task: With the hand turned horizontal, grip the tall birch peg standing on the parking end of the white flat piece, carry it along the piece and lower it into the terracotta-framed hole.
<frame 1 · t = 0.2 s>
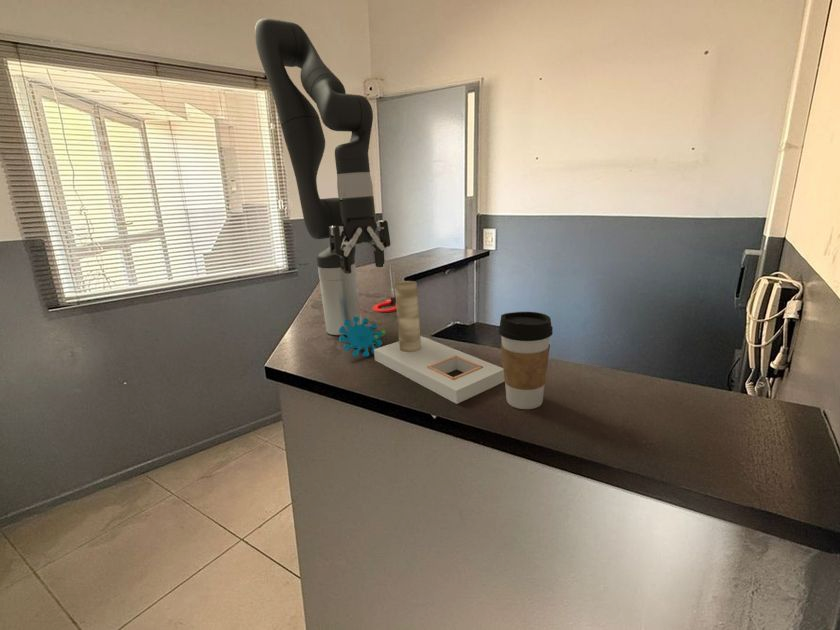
hand: (363, 270, 98), 18 cm above the counter, tool pointing down, fingers open, 8 cm apart
gear: (364, 352, 99), on the counter
coffee cup: (524, 401, 74), on the counter
tow hook: (388, 309, 131), on the counter
peg: (410, 347, 92), point 2 cm above the counter, touching white flat piece
white flat piece: (435, 370, 87), on the counter
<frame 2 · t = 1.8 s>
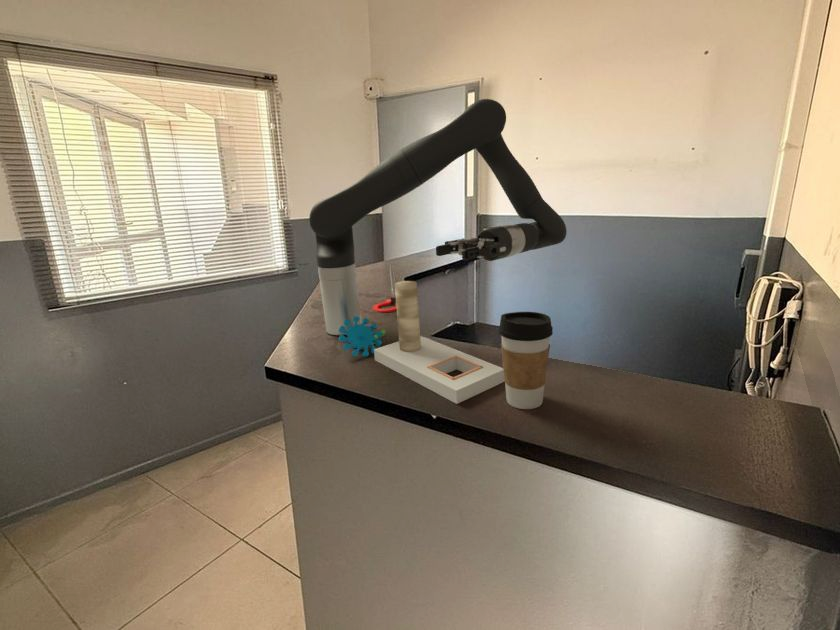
hand: (449, 253, 94), 21 cm above the counter, tool horizontal, fingers open, 8 cm apart
nothing on the counter moved.
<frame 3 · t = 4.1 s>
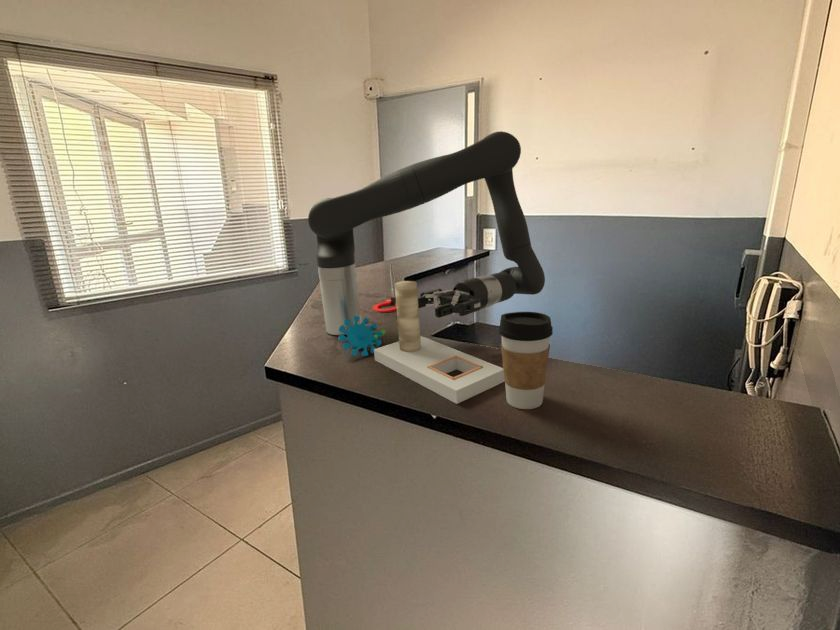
hand: (423, 308, 93), 10 cm above the counter, tool horizontal, fingers open, 8 cm apart
nothing on the counter moved.
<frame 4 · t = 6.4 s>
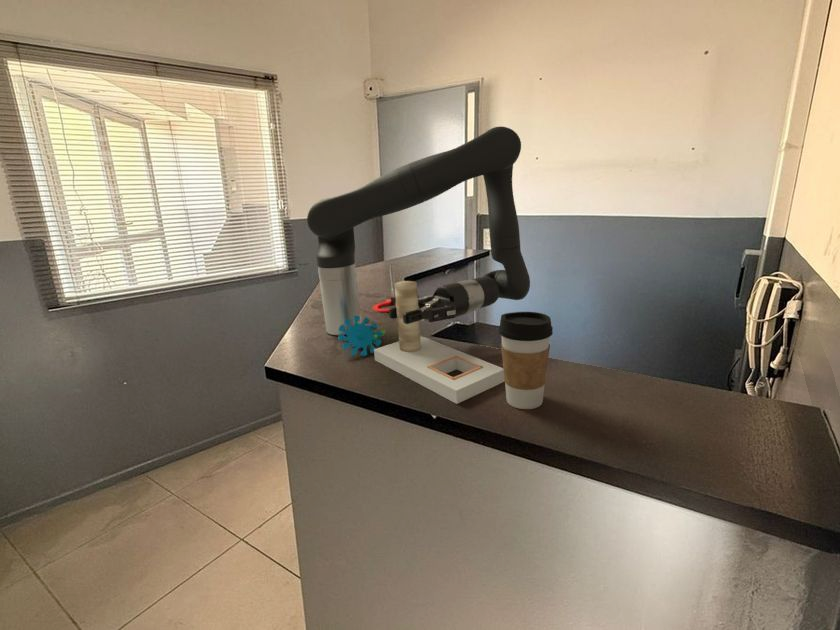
hand: (397, 316, 89), 10 cm above the counter, tool horizontal, fingers closed on peg, 4 cm apart
peg: (410, 347, 92), point 3 cm above the counter, touching gripper, white flat piece
everything else where it was.
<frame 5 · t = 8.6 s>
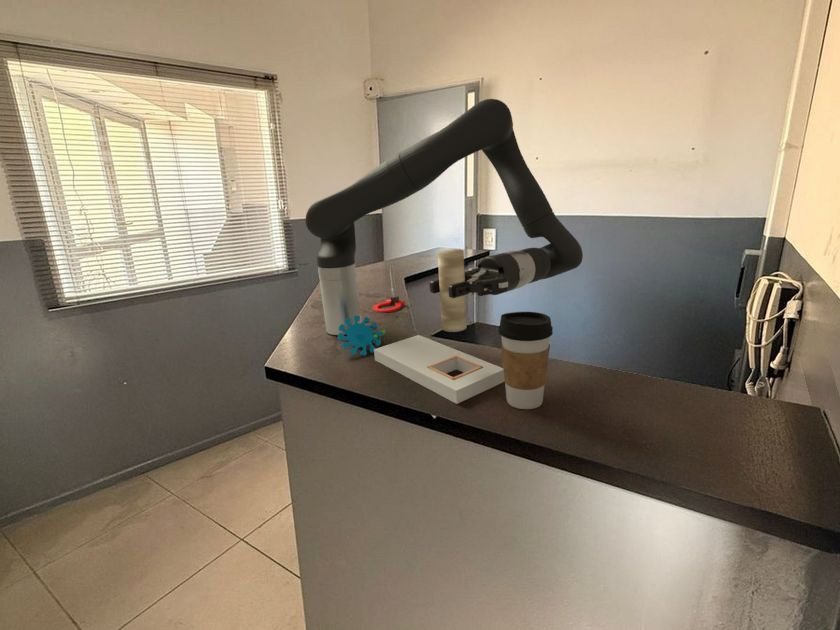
hand: (440, 289, 76), 18 cm above the counter, tool horizontal, fingers closed on peg, 4 cm apart
peg: (454, 327, 80), point 10 cm above the counter, touching gripper
everything else where it was.
when the fingers open (9 cm above the counter, at t = 11.1 s): peg drops 1 cm, resting in white flat piece.
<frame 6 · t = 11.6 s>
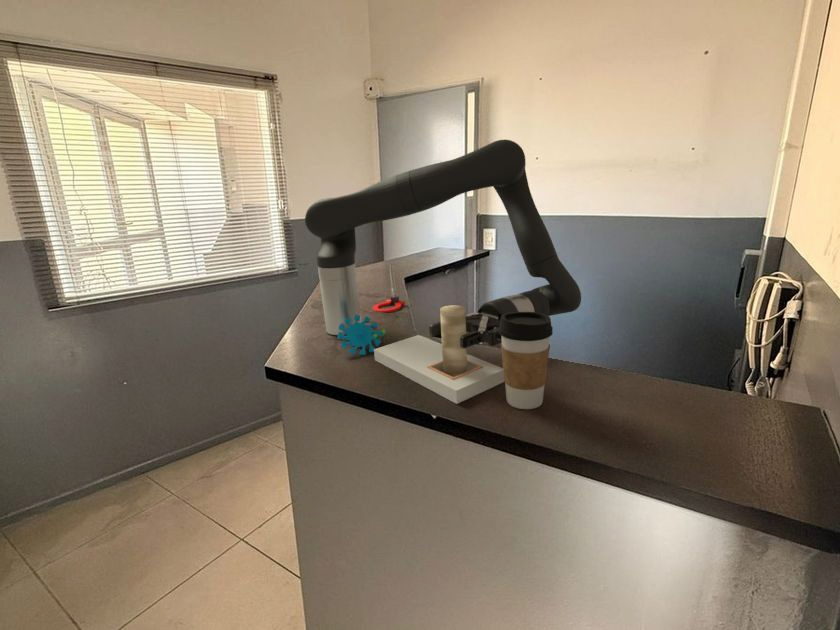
hand: (445, 336, 79), 9 cm above the counter, tool horizontal, fingers open, 8 cm apart
peg: (455, 379, 83), resting in white flat piece
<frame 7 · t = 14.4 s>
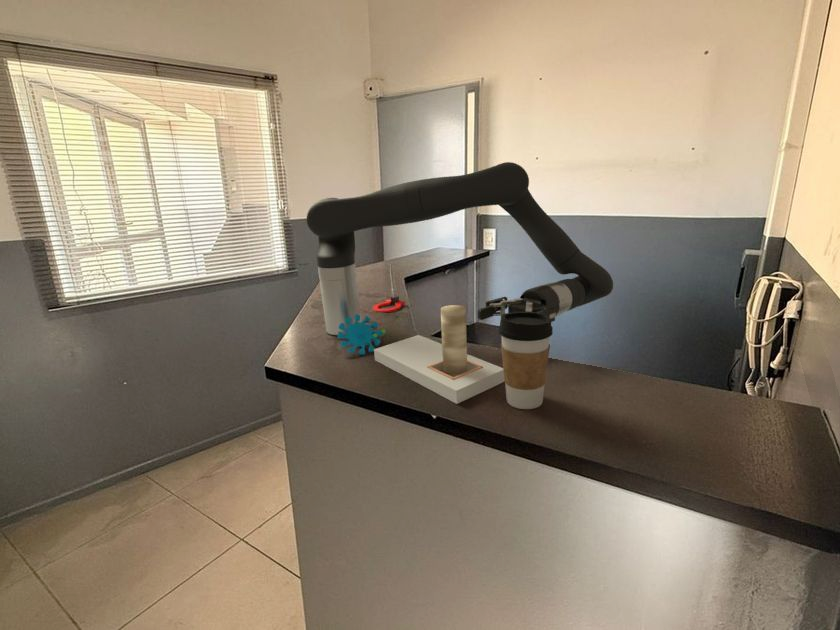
hand: (494, 319, 86), 9 cm above the counter, tool horizontal, fingers open, 8 cm apart
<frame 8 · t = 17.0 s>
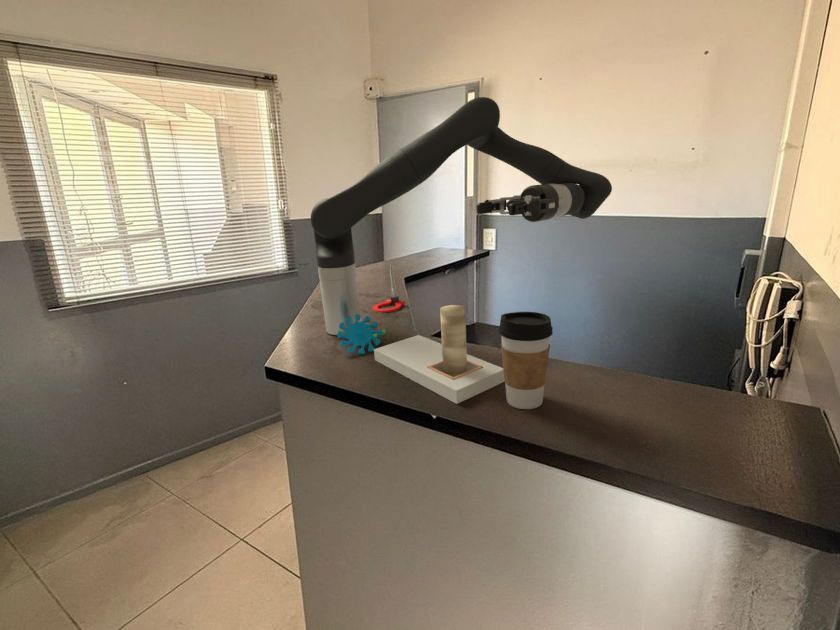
hand: (493, 209, 85), 30 cm above the counter, tool horizontal, fingers open, 8 cm apart
at the end: peg 0.1 cm from the target spot on the white flat piece, point 0.0 cm above the white flat piece's base; peg tilted 1°; the gripper is holding nothing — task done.
